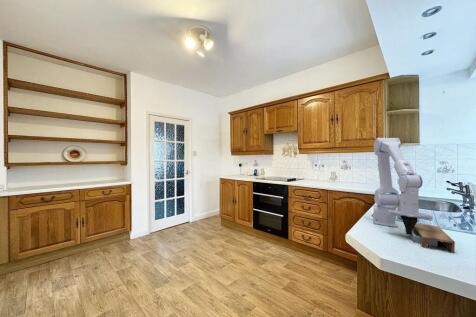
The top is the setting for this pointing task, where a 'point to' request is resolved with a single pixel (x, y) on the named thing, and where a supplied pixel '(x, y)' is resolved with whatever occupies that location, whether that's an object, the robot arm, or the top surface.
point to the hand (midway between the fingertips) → (408, 234)
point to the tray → (417, 238)
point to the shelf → (434, 236)
